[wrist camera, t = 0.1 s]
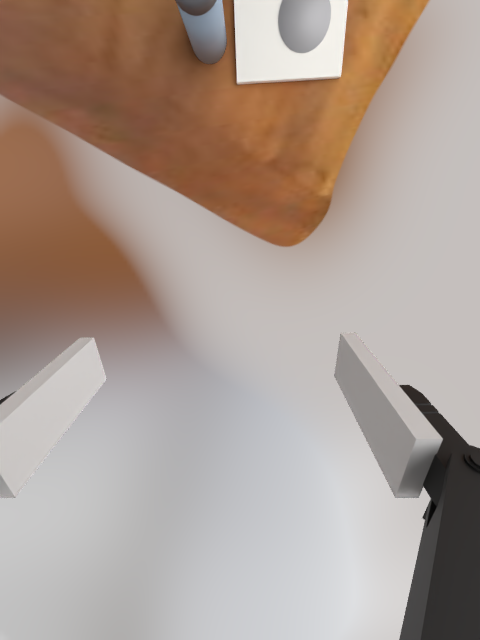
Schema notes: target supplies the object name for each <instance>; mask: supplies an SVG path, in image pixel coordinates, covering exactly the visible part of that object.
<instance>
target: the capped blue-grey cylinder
mask: <svg viewBox="0 0 480 640" xmlns="http://www.w3.org/2000/svg"><path fill="white" fill-rule="evenodd" d="M175 1H176V3H177V5H178V8H179V11H180V14H181V17H182V20H183V22H184V25H185V28H186V31H187V34H188V37H189V39H190V42H191V45H192V48H193V51H194V53H195V55H196V56H197V58H198V59H199V60H200V61H202V62H203V63H206V64H213V63H216V62H217V61H219V60H220V59H221V58H222V56H223V54H224V52H225V49H226V44H227V38H226V29H225V21H224V12H223V4H222V0H175Z"/></svg>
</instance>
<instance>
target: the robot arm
mask: <svg viewBox="0 0 480 640" xmlns="http://www.w3.org/2000/svg"><path fill="white" fill-rule="evenodd" d="M334 376H335V378H336V380H337V382H338V384H339V386H340V388H341V390H342V392H343V394H344V396H345V398H346V400H347V402H348V404H349V406H350V408H351V410H352V412H353V414H354V416H355V418H356V420H357V422H358V424H359V426H360V428H361V430H362V432H363V434H364V436H365V438H366V440H367V442H368V444H369V446H370V448H371V450H372V452H373V454H374V456H375V458H376V460H377V462H378V464H379V466H380V468H381V470H382V472H383V474H384V476H385V478H386V480H387V482H388V484H389V486H390V488H391V490H392V492H393V494H394V496H395V498H419V496H420V493H421V491H422V488H423V486H424V488H425V489H426V491H427V493H428V494H429V496H430V497H431V500H430V502H429V504H428V507H427V509H426V511H425V513H424V516H423V519H425V523H424V528H423V533H422V537H421V542H420V546H419V551H418V556H417V560H416V565H415V570H414V574H413V579H412V584H411V588H410V593H409V597H408V602H407V607H406V611H405V616H404V621H403V625H402V630H401V635H400V639H399V640H480V448H477V447H474V446H470V445H468V444H467V442H466V441H465V440H464V439H463V438H462V437H461V436H460V435H459V434H458V433H457V431H455V429H454V428H453V427H452V426H451V425H450V424H449V423H448V422H447V420H446V419H445V418H444V417H443V416H442V415H441V414H439V413H438V411H437V409H436V408H435V407H434V406H433V405H431V403H430V402H429V401H428V400H427V398H426V397H425V396H424V395H423V394H422V393H421V392H419V391H418V390H416V389H414V388H413V387H412V386H410V385H398V384H397V382H396V381H395V380H394V379H393V378H392V376H391V375H390V374H389V373H388V372H387V370H386V369H385V368H384V367H383V365H382V364H381V363H380V362H379V361H378V359H377V358H376V357H375V356H374V354H373V353H372V352H371V351H370V350H369V348H368V347H367V346H366V345H365V344H364V342H362V340H361V339H360V338H359V336H358V335H357V334H356V333H341V334H340V341H339V348H338V354H337V361H336V368H335V375H334ZM105 381H106V376H105V372H104V369H103V366H102V363H101V359H100V356H99V353H98V349H97V346H96V343H95V340H94V338H79V339H78V340H77V341H76V342H74V343H73V344H72V345H71V346H70V347H69V348H67V349H66V350H65V351H64V352H63V353H61V354H60V355H59V356H58V357H57V358H55V359H54V360H53V361H52V362H51V363H50V364H48V365H47V366H46V367H45V368H43V369H42V370H41V371H40V372H39V373H38V374H36V375H35V376H34V377H33V378H32V379H30V380H29V381H28V382H27V383H26V384H24V385H23V386H22V387H21V388H20V389H18V390H17V391H15V392H14V393H12V394H10V395H8V396H6V397H5V398H3V399H1V400H0V498H15V497H16V496H17V495H18V493H19V492H20V491H21V490H22V488H23V487H24V486H25V484H26V483H27V482H28V481H29V479H30V478H31V477H32V475H33V474H34V473H35V471H36V470H37V469H38V468H39V466H40V465H41V464H42V462H43V461H44V460H45V458H46V457H47V456H48V454H49V453H50V452H51V451H52V449H53V448H54V447H55V445H56V444H57V443H58V442H59V440H60V439H61V438H62V436H63V435H64V434H65V433H66V431H67V430H68V429H69V427H70V426H71V425H72V423H73V422H74V421H75V419H76V418H77V417H78V416H79V414H80V413H81V412H82V410H83V409H84V408H85V407H86V405H87V404H88V403H89V401H90V400H91V399H92V397H93V396H94V395H95V393H96V392H97V391H98V390H99V388H100V387H101V386H102V384H103V383H104V382H105Z"/></svg>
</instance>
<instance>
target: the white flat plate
mask: <svg viewBox="0 0 480 640" xmlns="http://www.w3.org/2000/svg"><path fill="white" fill-rule="evenodd" d="M347 7H348V0H234V14H235V42H236V69H237V85H238V84H254V83H270V82H287V81H303V80H319V79H336V78H340V77H341V71H342V60H343V49H344V39H345V28H346V17H347Z"/></svg>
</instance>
